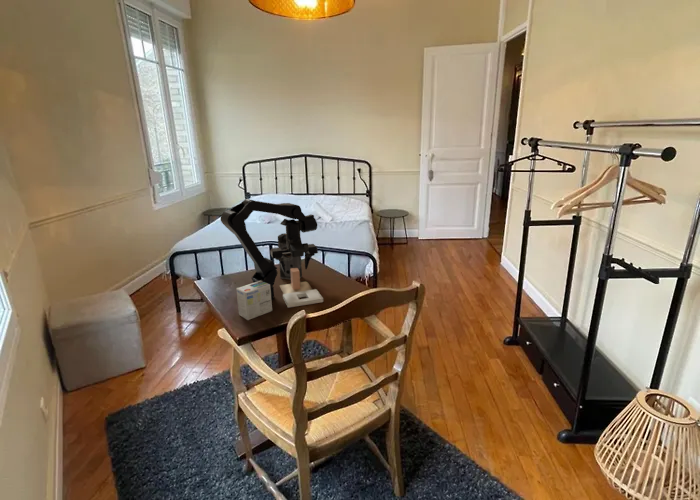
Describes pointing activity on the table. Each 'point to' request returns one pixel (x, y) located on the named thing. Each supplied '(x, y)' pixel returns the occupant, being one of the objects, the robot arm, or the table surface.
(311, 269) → the table surface
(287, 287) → the pad
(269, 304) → the light bulb box
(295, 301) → the white slotted plate
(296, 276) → the plug
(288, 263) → the electronic device
